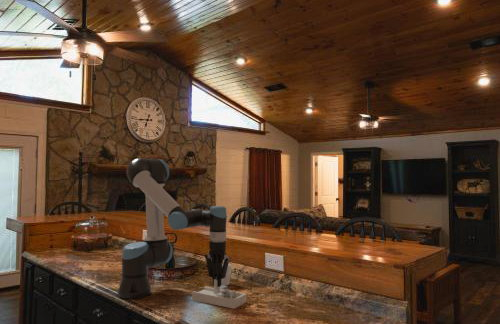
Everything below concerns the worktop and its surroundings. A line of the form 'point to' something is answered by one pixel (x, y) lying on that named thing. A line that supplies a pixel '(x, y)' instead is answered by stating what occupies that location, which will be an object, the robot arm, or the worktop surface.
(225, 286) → the grey tall rectangular block
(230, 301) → the box with sliding lid
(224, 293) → the clip
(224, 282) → the white cup
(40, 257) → the worktop surface
